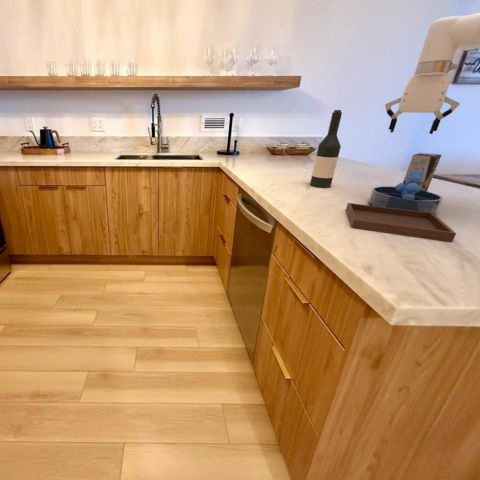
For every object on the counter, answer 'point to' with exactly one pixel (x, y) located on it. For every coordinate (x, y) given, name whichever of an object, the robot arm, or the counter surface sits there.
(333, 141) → the wine bottle
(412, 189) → the grapes
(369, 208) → the tray
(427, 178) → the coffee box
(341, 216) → the counter surface
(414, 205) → the bowl
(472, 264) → the counter surface
